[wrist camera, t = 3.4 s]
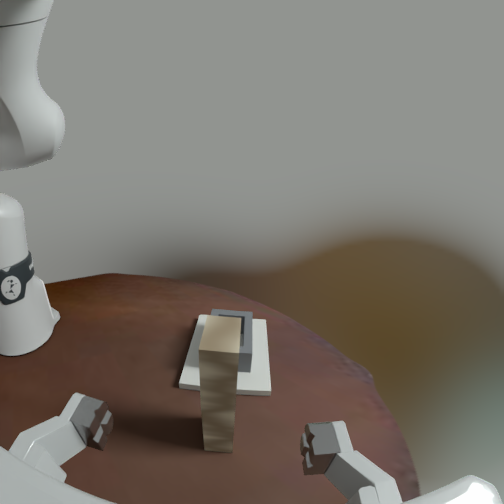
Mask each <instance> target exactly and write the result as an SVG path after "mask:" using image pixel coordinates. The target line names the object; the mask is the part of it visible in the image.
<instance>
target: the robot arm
mask: <svg viewBox="0 0 504 504" xmlns="http://www.w3.org/2000/svg"><path fill="white" fill-rule="evenodd" d="M53 1H54V0H0V171H4V170H11V169H18V168H24V167H29V166H32V165H35V164H38V163H41V162H44V161H47V160H50V159H52V158H53V156H54V155H55V154H56V153H57V151H58V150H59V148H60V146H61V144H62V141H63V138H64V133H65V118H64V115H63V112H62V110H61V108H60V107H59V105H58V104H57V103H56V102H54V101H53V100H52V99H51V98H49V97H48V95H47V94H46V93H45V92H44V90H43V88H42V87H41V84H40V82H39V79H38V75H37V58H38V52H39V47H40V42H41V38H42V34H43V31H44V27H45V24H46V21H47V18H48V15H49V13H50V10H51V7H52V4H53ZM59 319H60V314H59V312H58V311H56V310H55V309H53V308H52V307H50V304H49V300H48V297H47V293H46V290H45V286H44V283H43V281H42V280H40V278H38V277H36V276H35V275H34V267H33V260H32V257H31V253H30V252H29V251H28V245H27V238H26V230H25V221H24V212H23V209H22V207H21V205H20V203H19V202H18V201H17V200H16V199H14V198H12V197H11V196H8V195H6V194H4V193H1V192H0V354H2V355H7V356H15V355H21V354H25V353H28V352H31V351H33V350H35V349H37V348H38V347H40V346H41V345H42V344H44V343H45V342H46V341H47V340H48V338H49V337H50V336H51V334H52V331H53V327H54V325H55V324H56V323H57V321H58V320H59ZM108 408H109V406H108V404H107V402H104V401H101V400H98V399H94V398H91V397H88V396H85V395H82V394H79V393H75V394H73V396H72V397H71V399H70V400H69V402H68V403H67V405H66V407H65V408H64V410H63V411H62V413H61V415H60V416H59V417H58V416H55V417H53V418H51V419H49V420H47V421H45V422H43V423H41V424H39V425H37V426H34V427H32V428H30V429H28V430H26V431H23V432H21V433H20V434H19V436H18V437H17V439H16V440H15V442H14V443H13V445H12V447H11V448H10V450H9V452H8V451H7V450H5V449H4V448H2V447H1V446H0V504H116V503H113V502H110V501H107V500H104V499H101V498H99V497H96V496H93V495H91V494H88V493H86V492H83V491H81V490H79V489H76V488H74V487H72V486H69V485H67V484H65V483H64V481H65V478H66V473H65V472H64V471H63V470H62V469H61V467H60V465H61V464H63V463H64V462H66V461H67V460H68V459H70V458H71V457H73V456H74V455H76V454H77V453H78V452H80V451H81V450H83V449H84V448H85V447H86V446H88V447H92V448H95V449H98V450H101V451H103V449H104V447H105V445H106V443H107V437H106V435H108V434H109V433H111V431H112V428H113V422H114V421H113V416H112V414H111V413H110V412H109V411H108ZM304 429H305V433H304V434H302V437H301V443H300V450H301V455H303V456H304V457H305V458H304V460H303V462H302V464H303V471H304V475H315V474H324V475H325V476H326V477H327V478H328V479H329V480H330V481H331V483H332V484H333V485H334V486H335V487H336V488H337V489H338V490H339V491H340V492H341V493H342V494H343V495H344V496H345V497H346V498H347V499H348V500H349V501H348V502H347V503H346V504H503V503H502V501H501V498H500V496H499V494H498V491H497V490H496V488H495V487H494V486H493V485H492V484H490V483H489V482H487V481H485V480H483V479H481V478H478V477H476V476H473V475H468V476H465V477H463V478H461V479H459V480H457V481H455V482H453V483H451V484H448V485H446V486H444V487H442V488H440V489H437V490H435V491H433V492H430V493H428V494H425V495H423V496H420V497H417V498H415V499H412V500H409V501H406V502H403V503H402V500H401V497H400V494H399V491H398V488H397V485H396V482H395V479H394V478H392V477H391V476H390V475H388V474H387V473H385V472H384V471H383V470H381V469H380V468H379V467H377V466H376V465H375V464H373V463H372V462H371V461H369V460H368V459H367V458H366V457H364V456H363V455H362V454H360V453H359V452H358V451H353V448H352V445H351V441H350V438H349V435H348V432H347V428H346V425H345V423H344V421H336V422H321V423H307V424H306V426H305V428H304Z"/></svg>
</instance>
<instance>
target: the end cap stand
mask: <svg viewBox="0 0 504 504" xmlns="http://www.w3.org/2000/svg"><path fill="white" fill-rule="evenodd" d="M211 315H212V316H223V317H236V318H241V332H240V348H239V363H238V377H237V391H236V394H241V395H260V396H270V395H271V382H270V369H269V356H268V343H267V330H266V320H262V319H252V312H244V311H231V310H219V309H212V312H211ZM206 319H207V315H199V319H198V322H197V325H196V328H195V331H194V335H193V338H192V341H191V344H190V348H189V351H188V354H187V358H186V361H185V364H184V368H183V371H182V374H181V378H180V381H179V388H182V389H190V390H198V391H200V376H199V350H198V349H199V345H200V342H201V338H202V334H203V330H204V326H205V323H206Z"/></svg>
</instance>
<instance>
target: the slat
mask: <svg viewBox="0 0 504 504" xmlns="http://www.w3.org/2000/svg"><path fill="white" fill-rule="evenodd" d="M240 332H241V318H236V317H223V316H212V315H207V319H206V323H205V326H204V330H203V334H202V338H201V342H200V345H199V349H198V350H199V376H200V396H201V412H202V426H203V438H204V450H206V451H216V452H227V453H232V450H233V435H234V420H235V406H236V391H237V377H238V363H239V348H240Z"/></svg>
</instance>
